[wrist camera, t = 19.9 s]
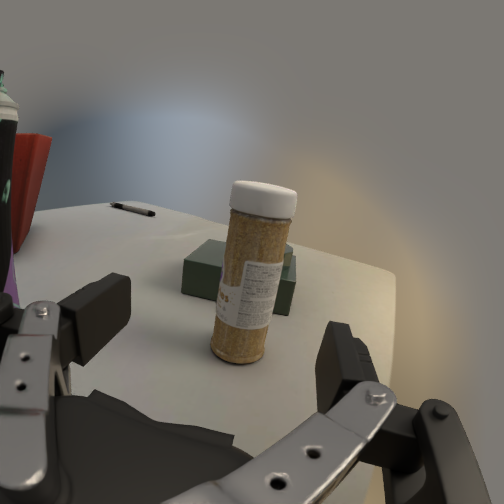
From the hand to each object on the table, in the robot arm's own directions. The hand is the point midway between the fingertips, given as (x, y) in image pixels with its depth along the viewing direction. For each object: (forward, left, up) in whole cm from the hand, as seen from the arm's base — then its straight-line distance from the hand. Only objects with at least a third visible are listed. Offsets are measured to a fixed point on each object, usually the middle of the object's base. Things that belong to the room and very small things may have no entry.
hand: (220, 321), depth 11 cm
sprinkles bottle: (0, -11, -9) cm, 14 cm away
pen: (+36, -56, -9) cm, 67 cm away
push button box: (+2, -24, -9) cm, 26 cm away
